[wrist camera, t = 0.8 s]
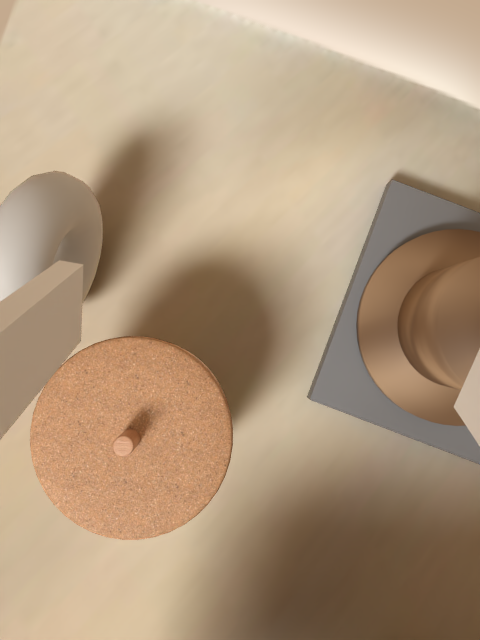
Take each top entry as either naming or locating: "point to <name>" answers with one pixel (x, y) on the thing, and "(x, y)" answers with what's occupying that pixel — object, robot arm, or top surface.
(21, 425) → the top surface
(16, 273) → the grey piece
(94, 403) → the lidded jar
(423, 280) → the walnut hub
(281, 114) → the top surface
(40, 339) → the robot arm
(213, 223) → the top surface
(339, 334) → the rubber mat
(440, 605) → the top surface
